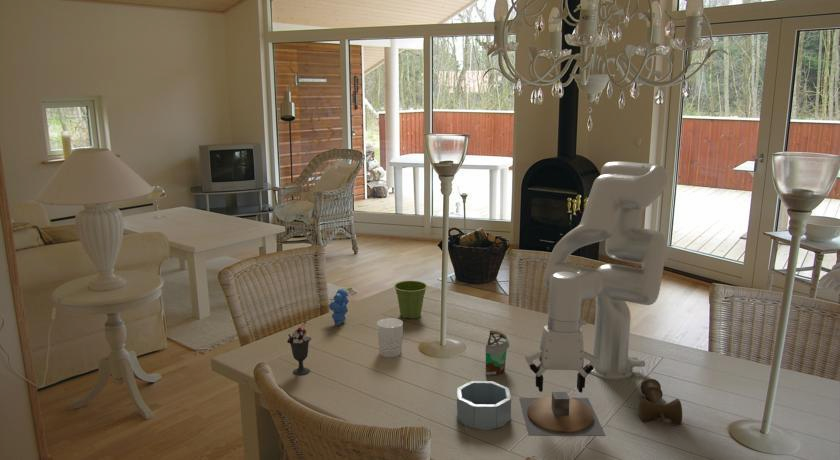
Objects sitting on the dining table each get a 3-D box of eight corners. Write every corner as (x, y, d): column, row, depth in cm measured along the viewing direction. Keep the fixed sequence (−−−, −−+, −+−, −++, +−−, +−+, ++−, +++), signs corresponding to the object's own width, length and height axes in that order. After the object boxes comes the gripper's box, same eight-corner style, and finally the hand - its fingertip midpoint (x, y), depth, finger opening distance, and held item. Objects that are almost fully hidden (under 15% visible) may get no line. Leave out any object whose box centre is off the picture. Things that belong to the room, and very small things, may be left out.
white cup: (373, 356, 195) (372, 325, 192) (384, 346, 202) (383, 316, 200) (397, 360, 192) (396, 329, 190) (407, 350, 199) (406, 319, 197)
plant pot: (415, 324, 220) (415, 293, 217) (387, 317, 226) (387, 287, 224) (433, 313, 230) (433, 283, 227) (406, 307, 236) (406, 278, 233)
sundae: (317, 369, 187) (314, 320, 183) (304, 378, 181) (301, 329, 177) (298, 365, 189) (295, 317, 186) (285, 374, 183) (281, 325, 180)
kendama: (668, 397, 169) (686, 436, 150) (630, 396, 171) (643, 434, 151) (669, 376, 168) (687, 412, 149) (631, 375, 170) (644, 410, 150)
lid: (584, 399, 166) (585, 380, 165) (600, 433, 151) (601, 412, 149) (523, 399, 166) (523, 380, 165) (532, 433, 151) (533, 412, 150)
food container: (507, 381, 178) (507, 347, 176) (485, 379, 179) (485, 346, 177) (510, 362, 190) (510, 330, 187) (489, 360, 191) (489, 329, 188)
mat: (587, 399, 167) (588, 397, 167) (605, 437, 150) (605, 435, 150) (519, 399, 168) (519, 397, 168) (528, 437, 150) (528, 435, 150)
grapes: (335, 315, 228) (333, 283, 226) (353, 317, 227) (351, 285, 224) (323, 327, 217) (321, 294, 215) (342, 329, 216) (340, 295, 213)
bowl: (506, 404, 165) (507, 381, 164) (512, 431, 153) (513, 406, 151) (456, 403, 166) (456, 381, 164) (458, 430, 153) (458, 406, 152)
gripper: (596, 318, 156) (591, 383, 160) (525, 317, 157) (522, 382, 160) (603, 329, 149) (599, 397, 152) (529, 328, 149) (526, 396, 153)
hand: (559, 389), depth 156 cm, fingers open, 9 cm apart
